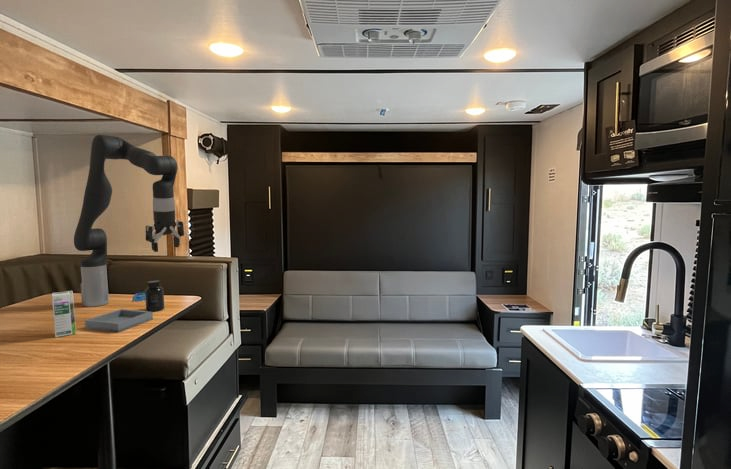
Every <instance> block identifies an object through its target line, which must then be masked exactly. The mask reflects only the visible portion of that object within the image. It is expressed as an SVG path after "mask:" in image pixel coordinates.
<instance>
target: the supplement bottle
mask: <svg viewBox="0 0 731 469" xmlns="http://www.w3.org/2000/svg"><path fill="white" fill-rule="evenodd" d="M146 284H147V285H146V287H147V288H146V289H145V290H144V293H145V300H144V301H145V311H149V312H152V313H155V312H159V311H160V312H161V311H163V310H164V309H165V295H164V293H165V292H164V288H163V287H162V286H161V280H149V281H146Z"/></svg>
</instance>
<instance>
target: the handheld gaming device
mask: <svg viewBox="0 0 731 469" xmlns="http://www.w3.org/2000/svg"><path fill="white" fill-rule="evenodd" d="M143 300H144V301H145V292H137V293H134V297H133V299H132V302H133V301H135V302H142V301H143Z"/></svg>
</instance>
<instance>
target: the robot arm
mask: <svg viewBox="0 0 731 469" xmlns="http://www.w3.org/2000/svg"><path fill="white" fill-rule="evenodd" d="M106 160H124V161H125V160H126V161H128V162H130V163H129V164H132V165H134V166H136V167H138V168H141V169H143V170H144V171H146V173H147V174H149V175H152V176H161V179H159V180H155V181H154V182H153V183H152V210H153V211H152V214H153V221H154V222H153V223H154V224H153V225H145V241H146V242H149V243H151V250H152V251H153V252H155V253H158V252H159V243H158V241H159V239H161V237H162V236H166V235H172V236H173V247H174V248H179V247H180V245H181V244H180V241H181V240H180V238H181V237H184V236H185V230H184V222H183V221H181V220H177V221H176V205H175V204H176V201H175V198H174V197H175V195H174V194H175V193H174V191H175V190H174V185H175V183H176V177H177V175H178V174H177V173H178V162H177V160H176V158H174V157H173V156H171V155H156V154H155V153H154V152H152V151H150V150H147V149H143V148H141V147H138V146H134V145H133V144H131V143H129V142H128V141H127V140H124V139H123V138H122V137H119V136H113V135H107V134H97V135H95V136H94V138H93V139H92V141H91V147H90V159H89V169H88V176H87V181H86V184H85V189H84V193H83V201H82V207H81V210H80V215H79V219H78V222H77V225H76V228H75V231H74V235H73V245H74V248H75V249H76V250H77V251H80V252H86V251H92V252H91V253H90V254H89V255H88V256H86V257H84V258H82V259H81V260H80V274H81V283H80V294H81V295H80V296H81V306H83V307H99V306H104V305H108V304H109V303H110V300H109V299H110V298H109V287H108V286H109V284H108V283H109V282H108V270H107V260H108V238H107V237H108V236H107V234H106V231H105V230H104V229H103V228H99V227H97V228H93V225H94V224H95V222H96V220H97V219H98V218H100V216H101V215H102V214H103V213H104V212H105V211H106V210H107V208H108V207H109V205H110V204H111V200H112V195H113V188H112V187H113V186H112V184H111V182H110V180H109V179H108V177H107V174H106V171H105V161H106ZM175 228H176V229H177V230H176V229H175Z"/></svg>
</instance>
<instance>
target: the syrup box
mask: <svg viewBox="0 0 731 469" xmlns="http://www.w3.org/2000/svg"><path fill="white" fill-rule="evenodd" d="M74 301H75V300H74V292H73V290H67V291H59V292H58V291H57V292H52V294H51V304H52V313H53V314H52V315H53V316H52V317H53V324H54V325H53V326H54V337H55V338H60V337H65V336H73V335H76V334H77V332H76V326H77V325H76V316H75V302H74Z"/></svg>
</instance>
